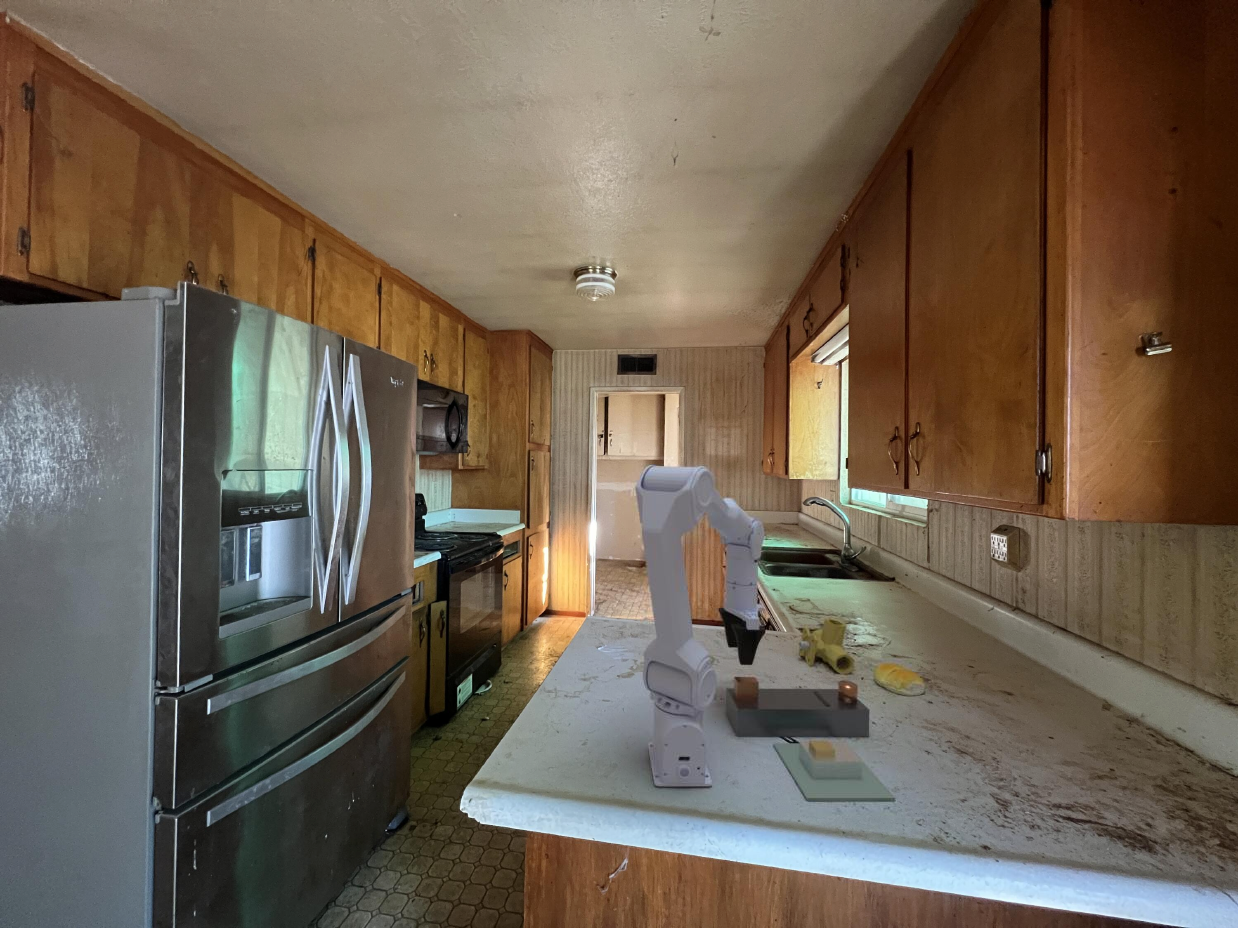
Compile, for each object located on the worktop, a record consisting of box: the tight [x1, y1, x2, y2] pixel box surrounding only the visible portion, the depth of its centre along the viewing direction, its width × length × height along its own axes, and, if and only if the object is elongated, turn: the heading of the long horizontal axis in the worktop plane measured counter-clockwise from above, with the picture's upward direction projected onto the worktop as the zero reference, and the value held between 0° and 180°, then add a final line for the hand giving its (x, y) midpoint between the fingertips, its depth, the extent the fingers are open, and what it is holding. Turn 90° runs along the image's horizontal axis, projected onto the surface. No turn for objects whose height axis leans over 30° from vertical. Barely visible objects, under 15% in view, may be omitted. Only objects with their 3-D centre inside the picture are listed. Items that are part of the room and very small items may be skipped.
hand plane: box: [725, 676, 871, 738], centre depth 79 cm, size 7×22×8 cm, turn 92°
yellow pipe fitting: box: [798, 617, 855, 675], centre depth 106 cm, size 13×10×10 cm
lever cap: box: [798, 739, 863, 779], centre depth 67 cm, size 5×7×3 cm, turn 92°
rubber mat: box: [772, 742, 896, 802], centre depth 67 cm, size 12×12×1 cm
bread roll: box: [873, 663, 926, 697], centre depth 95 cm, size 8×9×4 cm
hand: (739, 655), depth 85 cm, fingers open, 7 cm apart
